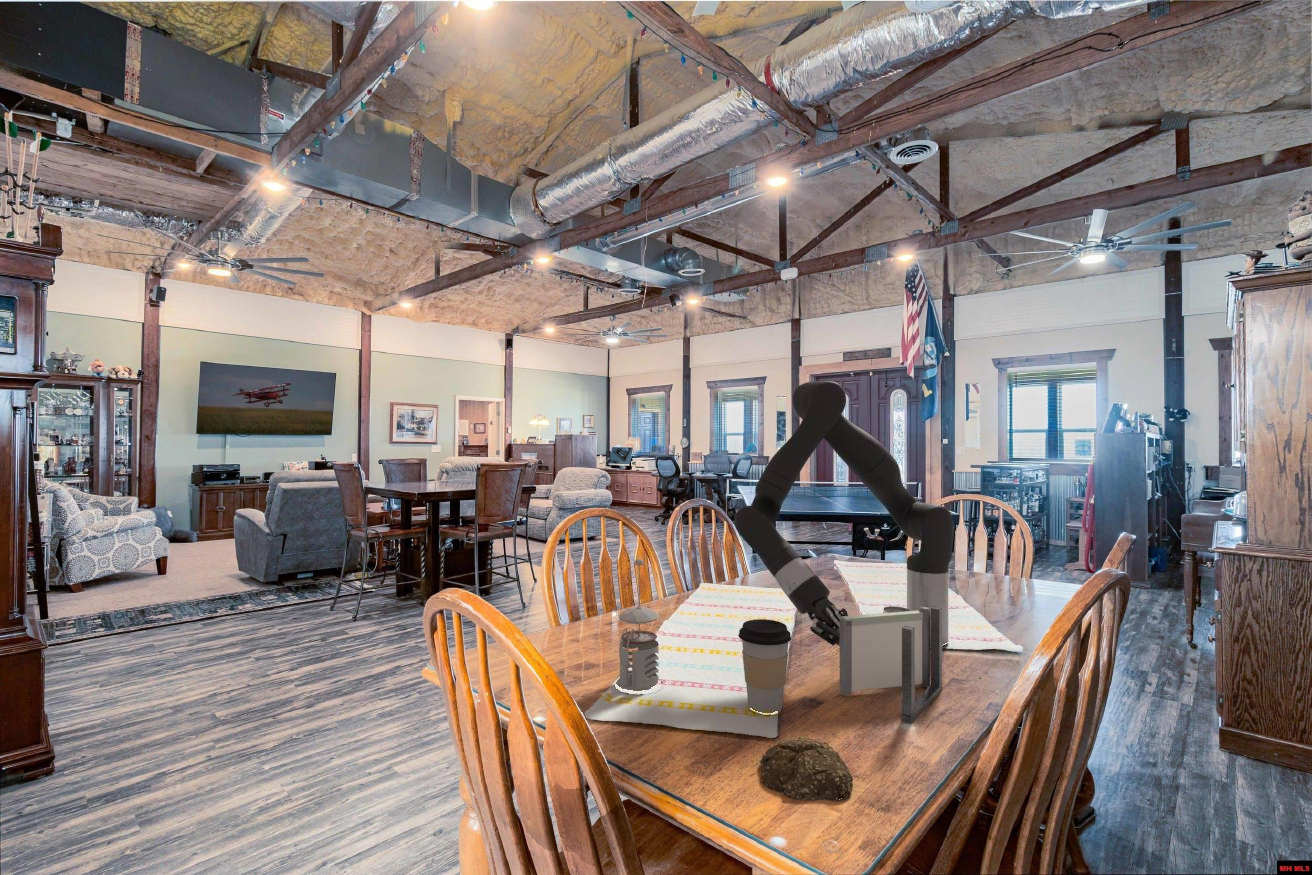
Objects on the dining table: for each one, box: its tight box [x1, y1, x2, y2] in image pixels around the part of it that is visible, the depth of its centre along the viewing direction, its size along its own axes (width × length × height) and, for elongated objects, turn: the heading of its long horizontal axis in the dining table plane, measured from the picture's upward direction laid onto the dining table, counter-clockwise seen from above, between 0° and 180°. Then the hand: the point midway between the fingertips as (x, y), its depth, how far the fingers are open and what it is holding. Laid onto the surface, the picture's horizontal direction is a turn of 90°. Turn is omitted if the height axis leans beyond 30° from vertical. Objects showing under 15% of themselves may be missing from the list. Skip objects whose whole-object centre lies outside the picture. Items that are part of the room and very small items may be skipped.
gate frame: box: [900, 606, 944, 724], centre depth 111 cm, size 19×2×16 cm, turn 139°
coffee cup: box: [738, 618, 792, 714], centre depth 109 cm, size 9×9×15 cm
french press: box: [615, 558, 660, 691], centre depth 119 cm, size 10×12×25 cm
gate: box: [839, 607, 931, 696], centre depth 117 cm, size 19×2×15 cm, turn 104°
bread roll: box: [759, 737, 854, 801], centre depth 87 cm, size 13×12×5 cm
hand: (859, 658), depth 117 cm, fingers closed
